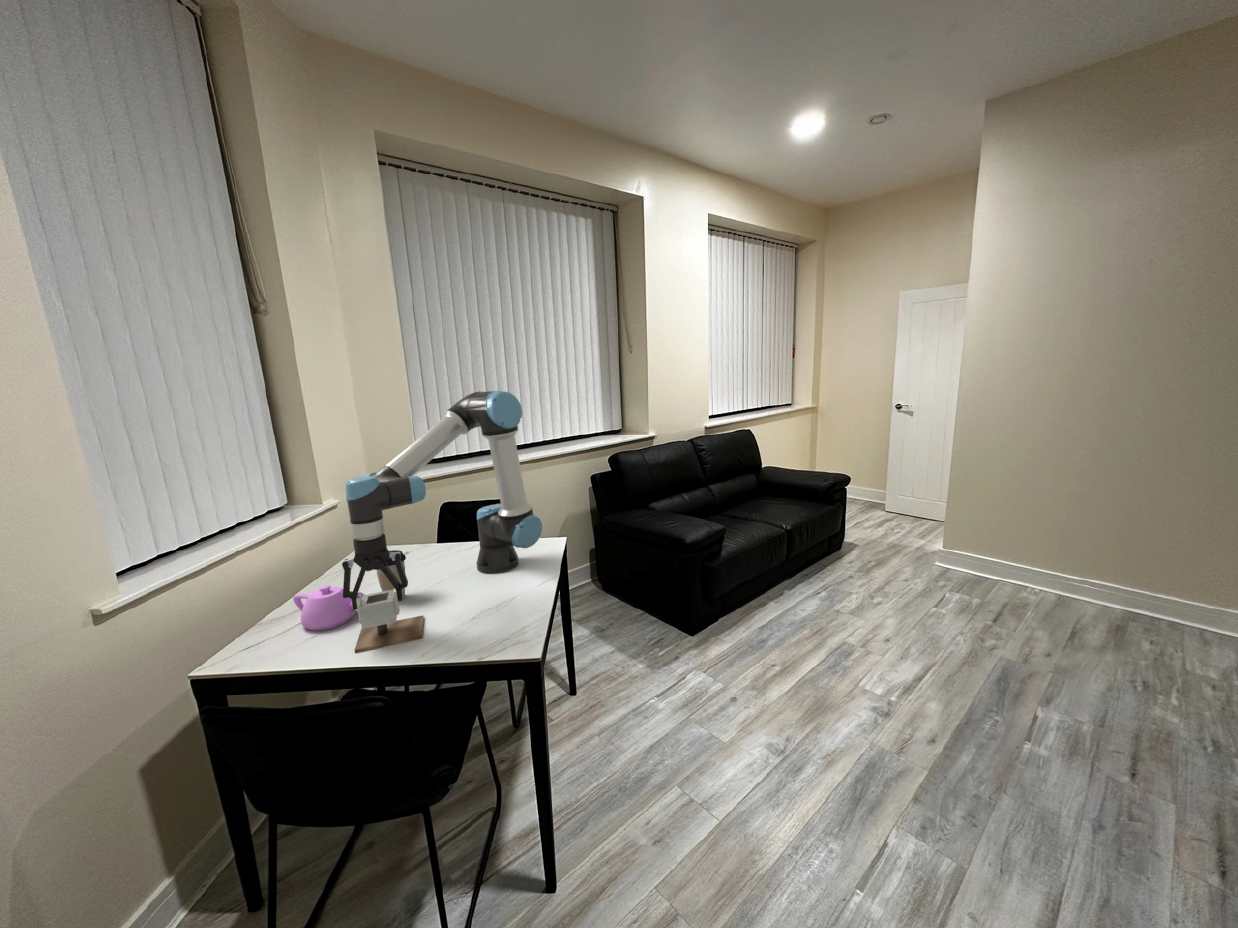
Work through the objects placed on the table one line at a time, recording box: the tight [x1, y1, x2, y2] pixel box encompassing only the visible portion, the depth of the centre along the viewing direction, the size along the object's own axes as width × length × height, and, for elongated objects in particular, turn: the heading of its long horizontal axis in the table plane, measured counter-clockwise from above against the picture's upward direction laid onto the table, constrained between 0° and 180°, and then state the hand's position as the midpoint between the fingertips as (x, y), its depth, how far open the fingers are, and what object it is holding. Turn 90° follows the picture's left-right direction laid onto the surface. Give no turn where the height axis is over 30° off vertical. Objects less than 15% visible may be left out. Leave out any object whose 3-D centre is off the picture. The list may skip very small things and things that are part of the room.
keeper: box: [354, 615, 424, 653], centre depth 125 cm, size 16×12×8 cm
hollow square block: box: [359, 589, 398, 629], centre depth 124 cm, size 8×8×6 cm
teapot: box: [292, 584, 365, 631], centre depth 134 cm, size 14×20×11 cm
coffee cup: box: [376, 549, 407, 601], centre depth 146 cm, size 9×9×15 cm
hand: (380, 615), depth 124 cm, fingers closed on hollow square block, 8 cm apart
